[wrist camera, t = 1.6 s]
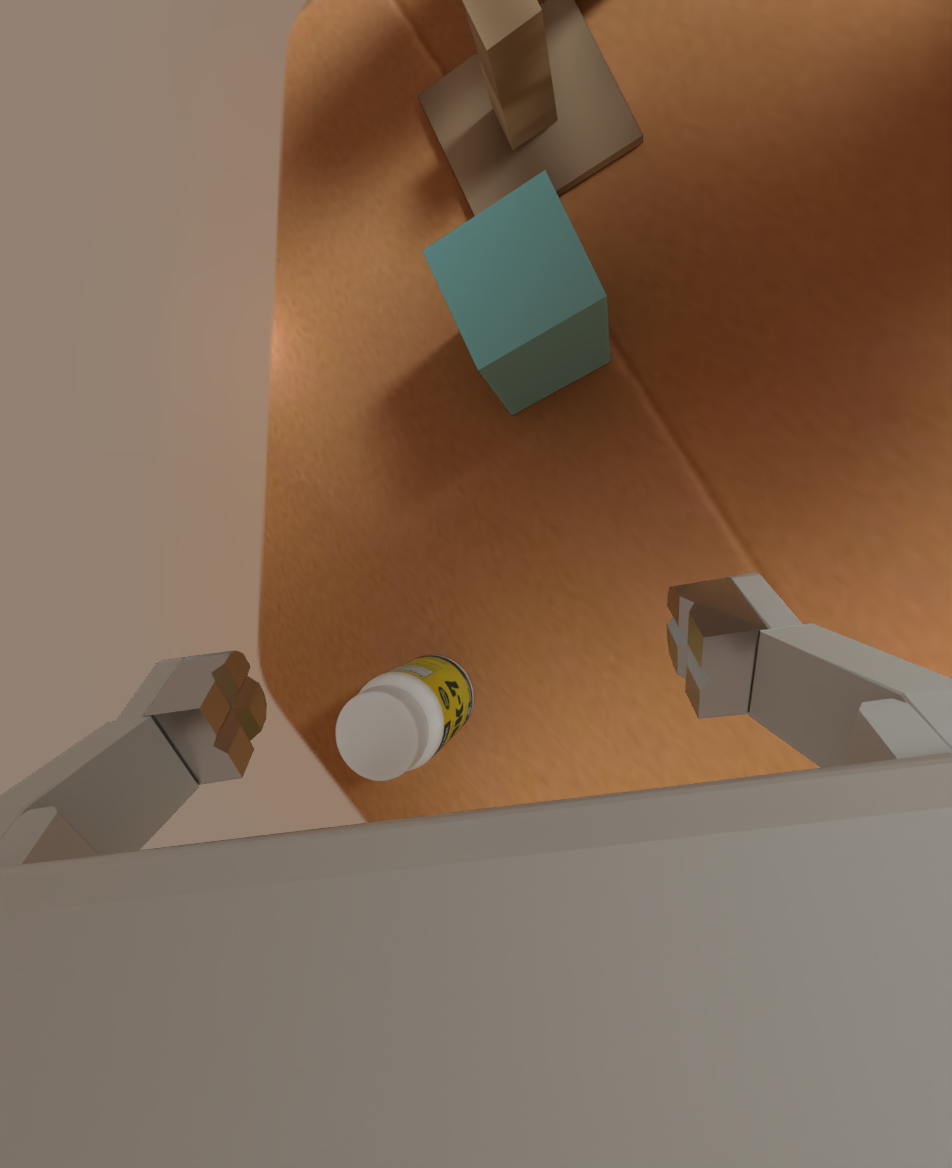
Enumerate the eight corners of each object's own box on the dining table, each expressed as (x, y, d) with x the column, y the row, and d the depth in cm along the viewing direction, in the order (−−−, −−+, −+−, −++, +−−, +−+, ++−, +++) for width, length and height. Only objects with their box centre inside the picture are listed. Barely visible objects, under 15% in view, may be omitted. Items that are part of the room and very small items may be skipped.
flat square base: (567, -5, 29) (553, -161, 23) (642, 142, 28) (648, 23, 22) (420, 102, 31) (370, -13, 25) (487, 242, 31) (452, 159, 24)
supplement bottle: (473, 740, 32) (423, 800, 24) (396, 729, 33) (323, 783, 25) (477, 657, 32) (428, 689, 24) (400, 649, 33) (328, 677, 25)
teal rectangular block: (563, 265, 30) (545, 169, 22) (610, 361, 29) (607, 295, 22) (468, 323, 31) (422, 250, 24) (511, 415, 31) (477, 370, 23)
